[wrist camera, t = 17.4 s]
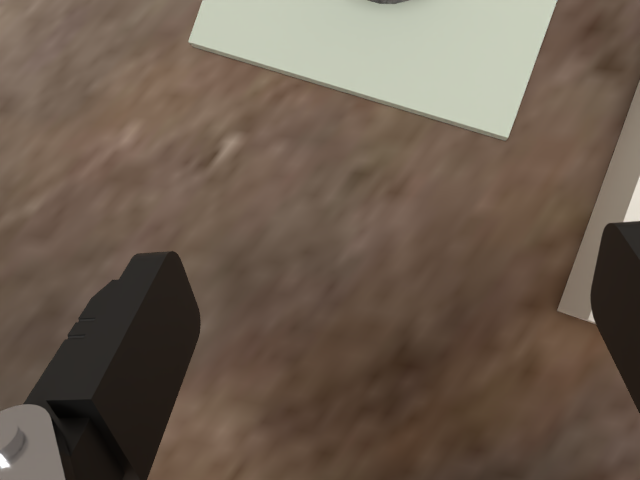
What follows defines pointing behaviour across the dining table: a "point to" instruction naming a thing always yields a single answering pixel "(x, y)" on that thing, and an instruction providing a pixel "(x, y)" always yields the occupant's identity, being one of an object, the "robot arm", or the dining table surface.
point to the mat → (392, 50)
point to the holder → (607, 213)
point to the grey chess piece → (388, 1)
